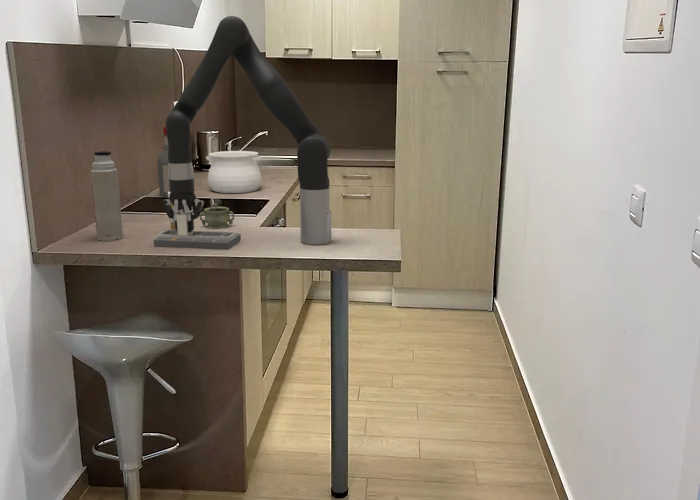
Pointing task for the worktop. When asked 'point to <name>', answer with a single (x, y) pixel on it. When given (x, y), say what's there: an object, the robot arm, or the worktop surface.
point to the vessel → (217, 217)
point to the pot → (234, 171)
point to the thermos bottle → (106, 197)
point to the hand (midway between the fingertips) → (184, 231)
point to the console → (198, 239)
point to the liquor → (163, 168)
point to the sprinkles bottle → (172, 221)
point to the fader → (182, 224)
